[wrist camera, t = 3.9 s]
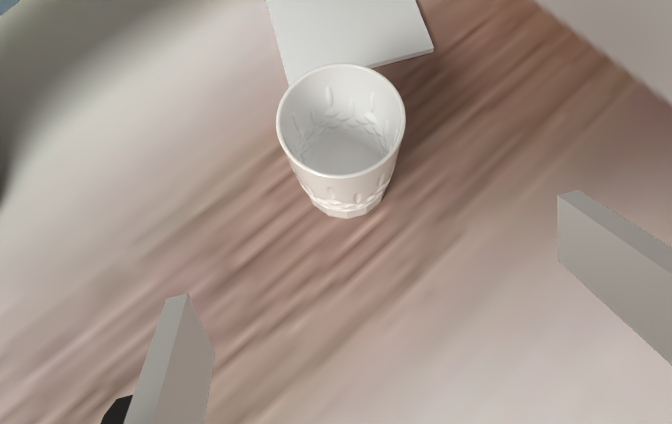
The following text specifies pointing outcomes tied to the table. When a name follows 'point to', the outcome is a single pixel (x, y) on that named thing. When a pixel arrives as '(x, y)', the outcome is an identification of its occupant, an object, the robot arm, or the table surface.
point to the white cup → (342, 136)
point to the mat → (346, 33)
